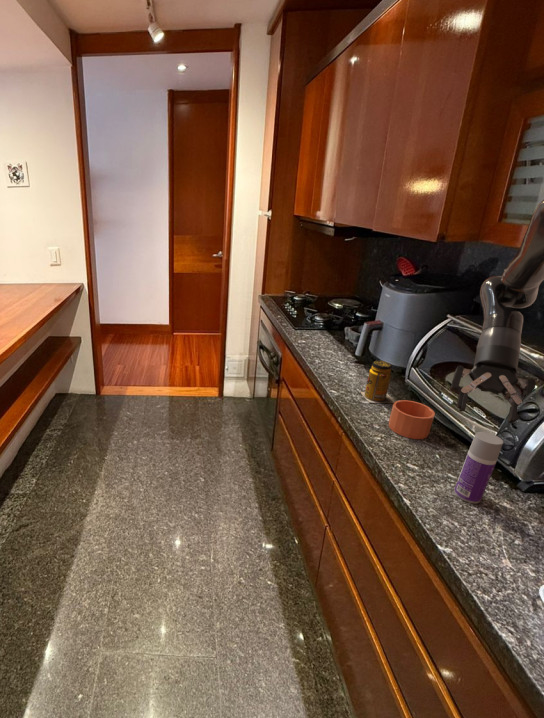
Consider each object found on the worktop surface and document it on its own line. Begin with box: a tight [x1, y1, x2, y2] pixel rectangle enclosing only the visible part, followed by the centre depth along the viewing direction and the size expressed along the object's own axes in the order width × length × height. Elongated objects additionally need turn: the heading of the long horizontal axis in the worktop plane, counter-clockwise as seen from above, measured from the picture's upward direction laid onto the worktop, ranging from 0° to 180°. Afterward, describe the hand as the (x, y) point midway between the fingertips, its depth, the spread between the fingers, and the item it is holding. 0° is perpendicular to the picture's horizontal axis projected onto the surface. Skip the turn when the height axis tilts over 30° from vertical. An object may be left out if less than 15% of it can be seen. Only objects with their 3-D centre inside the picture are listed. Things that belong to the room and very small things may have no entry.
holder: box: [388, 399, 436, 440], centre depth 106 cm, size 10×10×6 cm
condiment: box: [360, 360, 396, 404], centre depth 122 cm, size 7×8×12 cm
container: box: [453, 431, 504, 504], centre depth 81 cm, size 5×5×15 cm
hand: (486, 416), depth 85 cm, fingers open, 8 cm apart
